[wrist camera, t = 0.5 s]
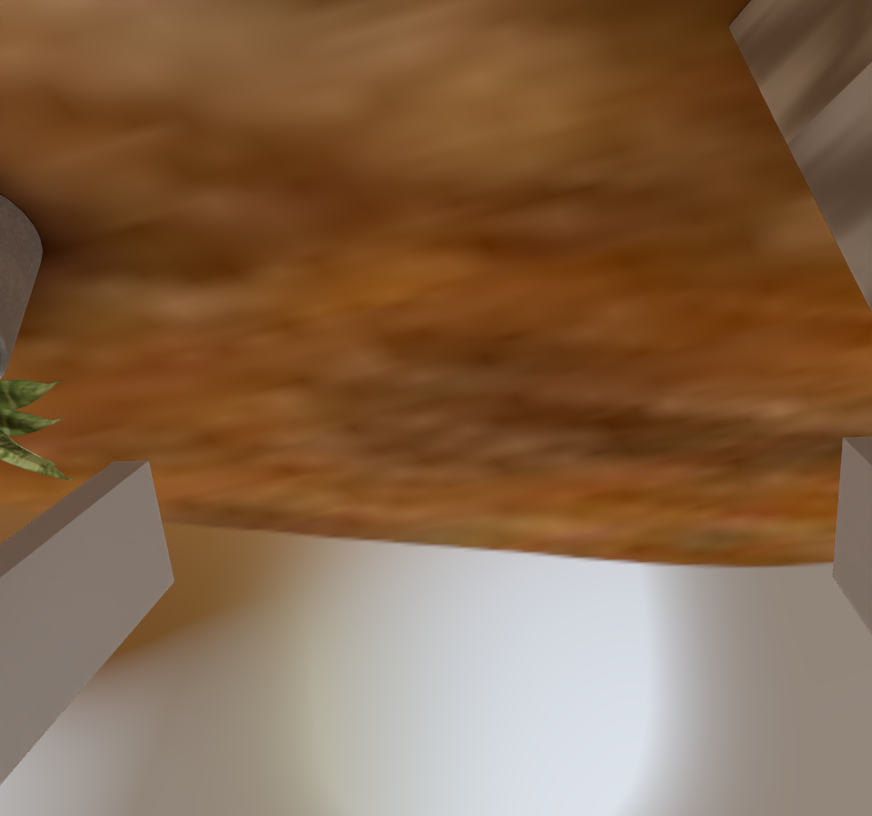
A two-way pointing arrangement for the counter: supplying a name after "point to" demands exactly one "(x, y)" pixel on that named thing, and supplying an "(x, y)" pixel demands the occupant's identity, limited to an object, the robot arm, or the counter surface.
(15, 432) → the house plant
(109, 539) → the robot arm
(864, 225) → the block stand
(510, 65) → the counter surface
